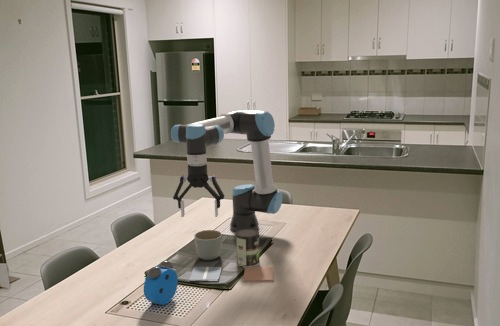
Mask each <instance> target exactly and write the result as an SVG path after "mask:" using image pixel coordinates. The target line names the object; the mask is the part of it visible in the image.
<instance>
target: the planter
mask: <svg viewBox="0 0 500 326" xmlns="http://www.w3.org/2000/svg"><path fill="white" fill-rule="evenodd" d="M194 245H195V252H196V255H197V257H198V258H200V259H201V260H203V261H214V260H216V259H217V258H219V257H220V255H221V254H222V250H223V249H222V246H223V233H222V232H221V231H219V230H214V229H206V230H200V231H197V232H195V234H194Z"/></svg>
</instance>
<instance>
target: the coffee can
mask: <svg viewBox="0 0 500 326" xmlns="http://www.w3.org/2000/svg"><path fill="white" fill-rule="evenodd" d="M234 235H235V247H236V248H235V249H236V250H235V251H236V265H237V266H238V265H239V266H238V267H240V266H244V267H243V268H245V267H258V266H260V262H261V261H260V231H259V230H258V229H257V230H255V229H241V230H238V231H237V232H235V234H234Z"/></svg>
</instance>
